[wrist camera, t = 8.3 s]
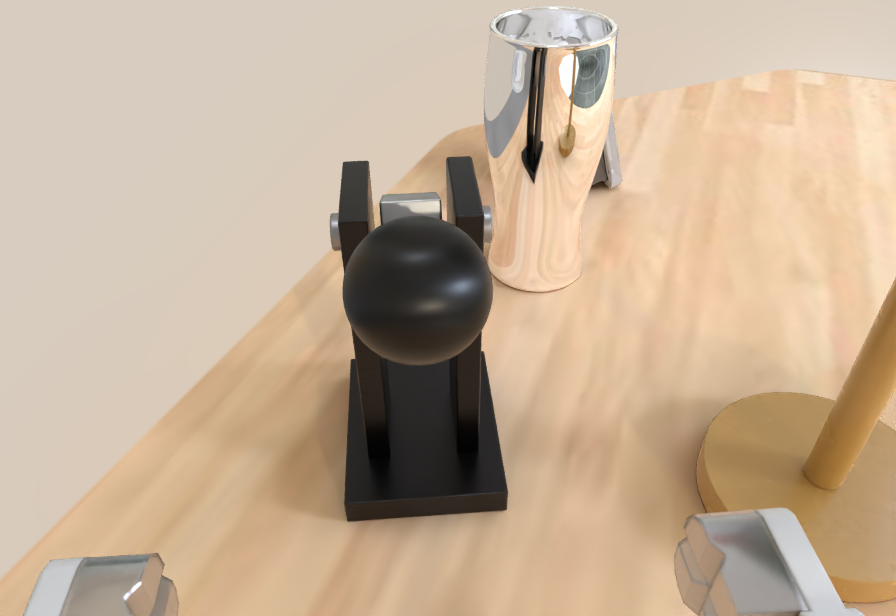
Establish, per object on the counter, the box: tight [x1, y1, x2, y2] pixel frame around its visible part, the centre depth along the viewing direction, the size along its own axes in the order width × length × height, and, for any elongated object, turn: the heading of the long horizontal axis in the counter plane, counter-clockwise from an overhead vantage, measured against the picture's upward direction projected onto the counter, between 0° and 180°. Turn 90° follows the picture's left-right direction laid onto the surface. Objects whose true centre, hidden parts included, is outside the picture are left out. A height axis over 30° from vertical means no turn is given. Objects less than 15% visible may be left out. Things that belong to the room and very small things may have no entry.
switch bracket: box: [330, 156, 508, 521], centre depth 30 cm, size 9×7×14 cm
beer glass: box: [484, 6, 619, 292], centre depth 41 cm, size 7×7×15 cm
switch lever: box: [343, 192, 493, 366], centre depth 21 cm, size 14×3×3 cm, turn 4°
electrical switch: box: [592, 110, 622, 189], centre depth 53 cm, size 9×5×9 cm, turn 16°
